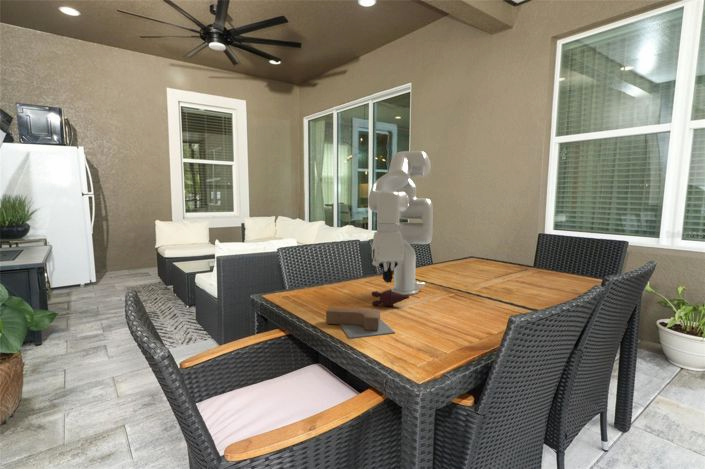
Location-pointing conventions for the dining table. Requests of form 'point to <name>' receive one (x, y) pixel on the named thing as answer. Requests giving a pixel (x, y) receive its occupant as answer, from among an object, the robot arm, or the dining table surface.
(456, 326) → the dining table surface
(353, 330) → the mat
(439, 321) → the dining table surface
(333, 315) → the wooden block
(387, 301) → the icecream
